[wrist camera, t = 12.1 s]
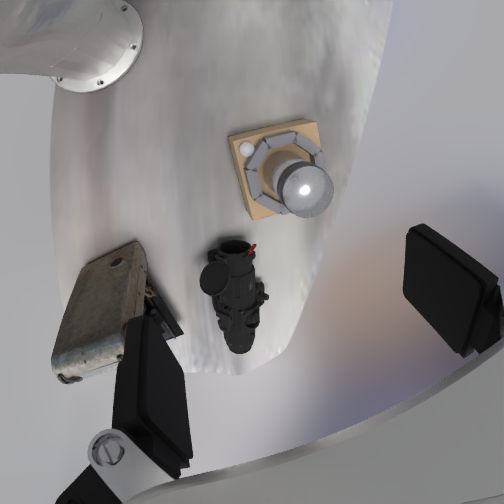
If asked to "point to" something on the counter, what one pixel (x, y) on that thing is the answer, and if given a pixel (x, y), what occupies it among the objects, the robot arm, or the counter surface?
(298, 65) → the counter surface
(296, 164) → the lens
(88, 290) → the vintage camera
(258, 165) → the mount
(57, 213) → the counter surface
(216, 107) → the counter surface
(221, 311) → the night vision scope
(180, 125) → the counter surface
